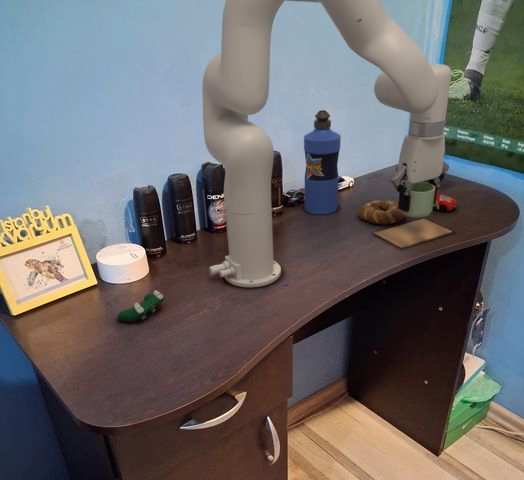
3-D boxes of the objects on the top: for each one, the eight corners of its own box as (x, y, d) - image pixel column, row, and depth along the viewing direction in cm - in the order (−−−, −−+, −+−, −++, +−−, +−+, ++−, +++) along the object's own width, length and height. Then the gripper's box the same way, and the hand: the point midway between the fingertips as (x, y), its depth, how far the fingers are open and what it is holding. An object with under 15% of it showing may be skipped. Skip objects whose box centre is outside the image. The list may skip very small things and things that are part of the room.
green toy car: (126, 332, 106) (139, 319, 101) (114, 317, 105) (126, 303, 101) (158, 310, 112) (171, 297, 108) (146, 295, 112) (158, 282, 107)
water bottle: (318, 199, 155) (320, 105, 140) (344, 206, 149) (349, 109, 135) (296, 209, 149) (296, 112, 135) (323, 217, 144) (325, 117, 129)
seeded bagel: (357, 225, 138) (358, 211, 136) (358, 209, 147) (359, 196, 145) (406, 226, 136) (407, 212, 134) (404, 210, 145) (405, 197, 143)
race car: (459, 207, 145) (461, 193, 143) (450, 214, 142) (453, 199, 139) (414, 197, 152) (415, 183, 150) (404, 203, 149) (406, 189, 147)
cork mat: (400, 248, 126) (401, 247, 126) (374, 234, 134) (374, 232, 133) (452, 232, 132) (452, 231, 132) (423, 219, 139) (423, 218, 139)
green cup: (414, 220, 126) (417, 194, 122) (394, 210, 131) (396, 185, 128) (438, 213, 128) (442, 188, 125) (417, 203, 134) (420, 179, 130)
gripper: (443, 118, 124) (433, 194, 135) (383, 131, 118) (377, 209, 129) (468, 125, 119) (455, 203, 129) (406, 138, 113) (398, 219, 123)
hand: (416, 205), depth 129 cm, fingers closed on green cup, 7 cm apart
